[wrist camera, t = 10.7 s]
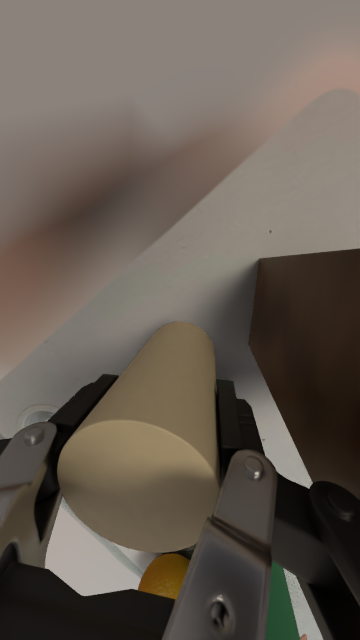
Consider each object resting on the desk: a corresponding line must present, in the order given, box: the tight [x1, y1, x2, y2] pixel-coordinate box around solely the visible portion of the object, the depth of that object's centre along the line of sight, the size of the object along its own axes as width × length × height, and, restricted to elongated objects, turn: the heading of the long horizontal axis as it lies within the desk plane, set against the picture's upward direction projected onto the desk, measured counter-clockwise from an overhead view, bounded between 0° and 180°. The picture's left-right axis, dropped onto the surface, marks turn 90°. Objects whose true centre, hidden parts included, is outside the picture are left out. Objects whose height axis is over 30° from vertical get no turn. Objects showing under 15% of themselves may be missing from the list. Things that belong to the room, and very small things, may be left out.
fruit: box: [138, 553, 190, 602], centre depth 26 cm, size 9×8×8 cm
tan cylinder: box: [57, 322, 222, 553], centre depth 11 cm, size 5×5×10 cm
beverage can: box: [266, 561, 300, 640], centre depth 21 cm, size 8×8×12 cm
